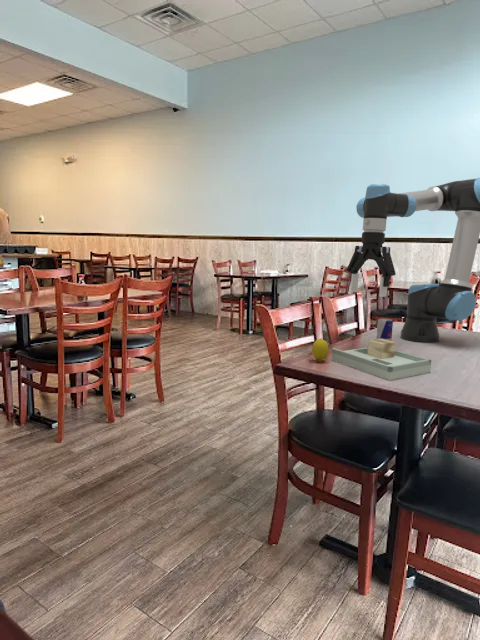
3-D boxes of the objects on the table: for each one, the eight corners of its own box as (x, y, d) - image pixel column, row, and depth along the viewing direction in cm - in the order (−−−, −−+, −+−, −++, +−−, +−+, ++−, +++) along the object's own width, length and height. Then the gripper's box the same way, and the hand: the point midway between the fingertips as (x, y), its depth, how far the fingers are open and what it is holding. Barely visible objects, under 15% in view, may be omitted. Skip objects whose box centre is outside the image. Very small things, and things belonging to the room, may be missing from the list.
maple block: (380, 352, 154) (381, 338, 153) (394, 356, 149) (395, 342, 148) (367, 354, 151) (368, 340, 150) (381, 359, 146) (382, 344, 145)
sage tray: (369, 353, 163) (370, 342, 162) (430, 372, 141) (431, 359, 140) (331, 359, 154) (331, 348, 154) (389, 380, 132) (390, 367, 131)
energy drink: (391, 353, 163) (393, 321, 161) (376, 352, 164) (378, 320, 162) (389, 350, 168) (392, 318, 166) (375, 349, 169) (377, 318, 167)
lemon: (322, 358, 155) (323, 336, 154) (331, 362, 150) (332, 339, 149) (308, 360, 153) (309, 337, 152) (316, 364, 148) (317, 340, 147)
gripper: (340, 231, 160) (335, 290, 164) (395, 230, 139) (387, 298, 142) (355, 232, 164) (350, 290, 167) (411, 232, 143) (404, 298, 146)
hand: (367, 294), depth 155 cm, fingers open, 13 cm apart
